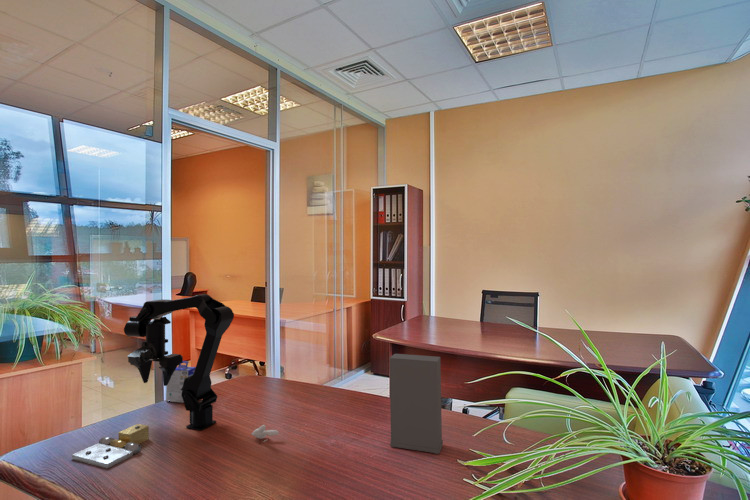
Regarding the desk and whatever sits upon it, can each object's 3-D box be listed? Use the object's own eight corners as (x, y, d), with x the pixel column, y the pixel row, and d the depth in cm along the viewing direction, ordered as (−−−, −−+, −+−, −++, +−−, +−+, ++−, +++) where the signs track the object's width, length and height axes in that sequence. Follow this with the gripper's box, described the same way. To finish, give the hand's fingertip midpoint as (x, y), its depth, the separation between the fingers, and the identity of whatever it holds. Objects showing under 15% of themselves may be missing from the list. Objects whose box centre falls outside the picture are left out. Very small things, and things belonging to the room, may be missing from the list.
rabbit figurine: (263, 433, 116) (280, 426, 113) (261, 447, 114) (278, 440, 110) (247, 428, 113) (264, 420, 110) (244, 442, 110) (262, 434, 107)
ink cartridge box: (198, 398, 147) (198, 360, 148) (188, 403, 142) (188, 364, 142) (175, 396, 149) (175, 359, 150) (165, 401, 144) (165, 363, 144)
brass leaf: (148, 439, 114) (148, 424, 114) (121, 452, 106) (121, 437, 106) (137, 437, 115) (137, 422, 115) (110, 450, 107) (110, 434, 107)
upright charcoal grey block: (443, 444, 108) (441, 356, 109) (439, 454, 102) (437, 361, 103) (396, 437, 112) (395, 352, 113) (390, 447, 107) (389, 357, 107)
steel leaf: (141, 451, 106) (141, 442, 106) (107, 468, 97) (107, 459, 98) (107, 443, 111) (107, 435, 111) (71, 459, 102) (71, 450, 103)
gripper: (112, 340, 124) (112, 389, 123) (154, 344, 117) (154, 395, 117) (144, 334, 134) (144, 378, 134) (183, 337, 127) (184, 384, 127)
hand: (155, 384), depth 127 cm, fingers open, 9 cm apart
